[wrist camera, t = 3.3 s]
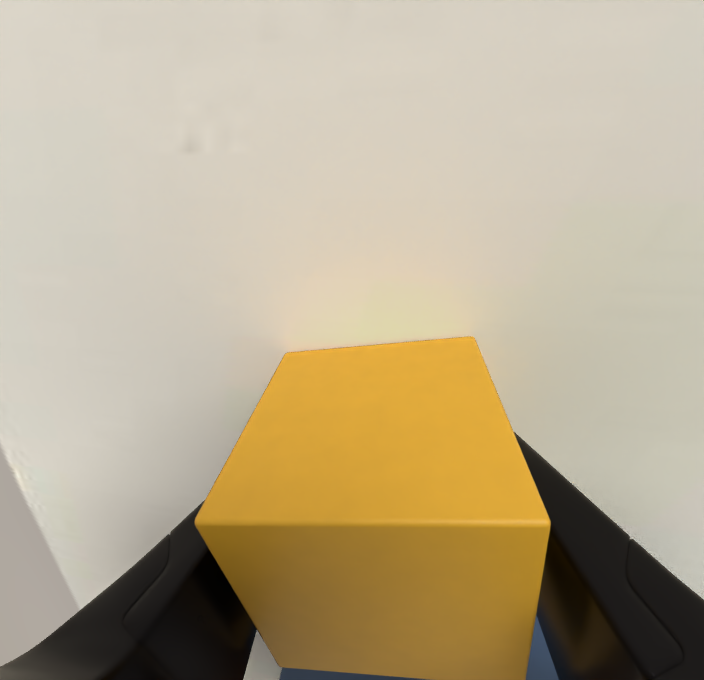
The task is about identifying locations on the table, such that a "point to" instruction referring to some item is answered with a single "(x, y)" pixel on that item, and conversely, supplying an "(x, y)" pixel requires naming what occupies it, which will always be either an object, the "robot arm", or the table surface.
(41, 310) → the table surface
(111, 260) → the table surface
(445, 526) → the yellow block
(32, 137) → the table surface
